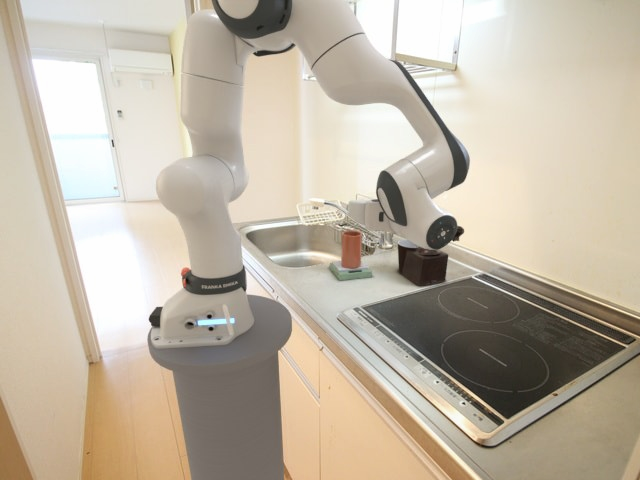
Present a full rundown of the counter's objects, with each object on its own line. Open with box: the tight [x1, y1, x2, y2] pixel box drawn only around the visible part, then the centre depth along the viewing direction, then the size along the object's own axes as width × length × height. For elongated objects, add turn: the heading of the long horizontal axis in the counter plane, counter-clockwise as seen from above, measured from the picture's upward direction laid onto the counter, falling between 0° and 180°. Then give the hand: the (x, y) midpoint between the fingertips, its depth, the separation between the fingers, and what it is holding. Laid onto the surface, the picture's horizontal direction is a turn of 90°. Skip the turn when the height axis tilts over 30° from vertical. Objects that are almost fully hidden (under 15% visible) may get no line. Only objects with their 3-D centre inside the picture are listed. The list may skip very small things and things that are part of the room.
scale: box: [329, 260, 373, 281], centre depth 121 cm, size 11×11×3 cm
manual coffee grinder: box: [401, 225, 465, 287], centre depth 116 cm, size 16×11×18 cm
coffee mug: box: [397, 239, 419, 275], centre depth 122 cm, size 12×9×10 cm
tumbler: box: [340, 230, 363, 269], centre depth 119 cm, size 6×6×11 cm
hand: (377, 202), depth 93 cm, fingers open, 8 cm apart
